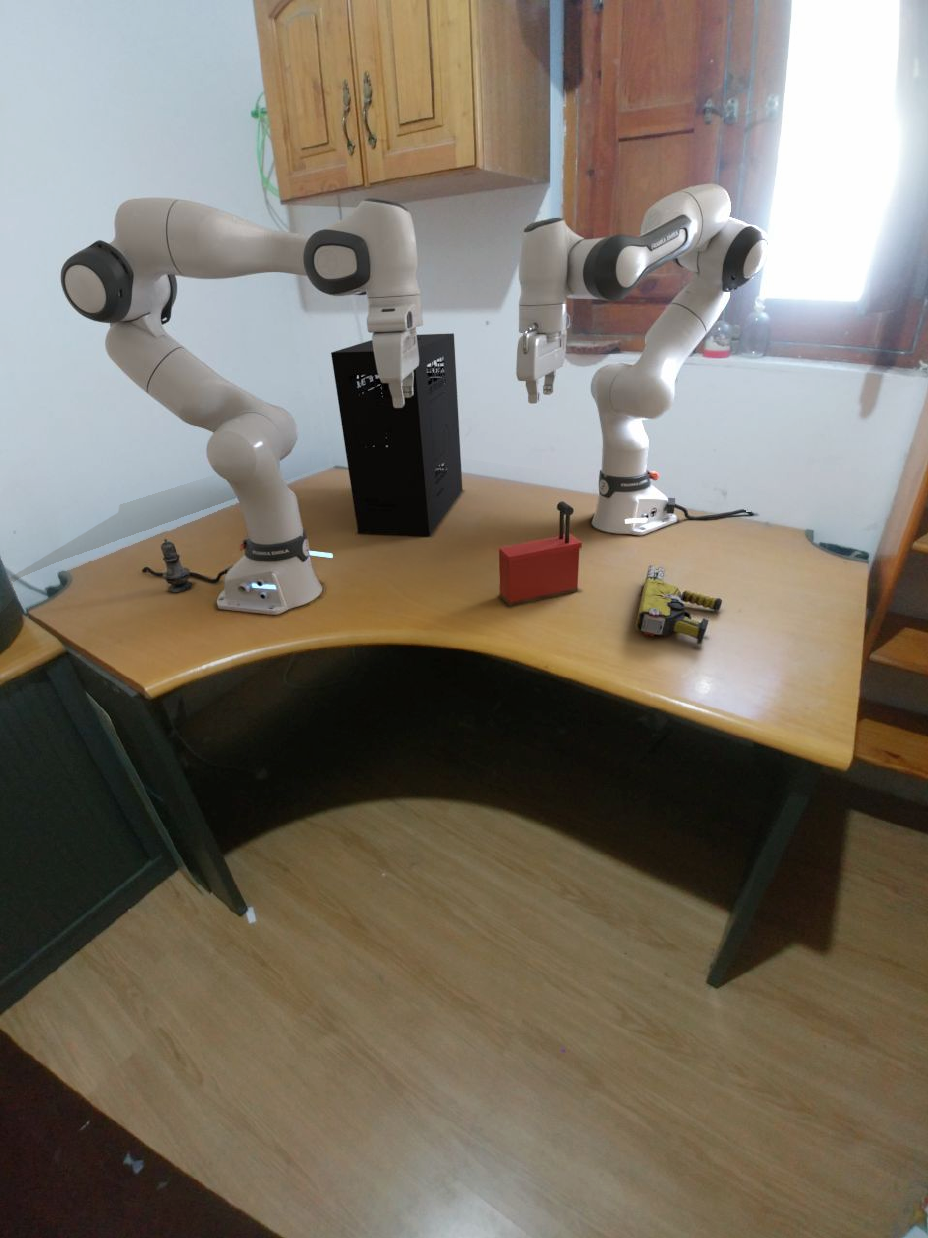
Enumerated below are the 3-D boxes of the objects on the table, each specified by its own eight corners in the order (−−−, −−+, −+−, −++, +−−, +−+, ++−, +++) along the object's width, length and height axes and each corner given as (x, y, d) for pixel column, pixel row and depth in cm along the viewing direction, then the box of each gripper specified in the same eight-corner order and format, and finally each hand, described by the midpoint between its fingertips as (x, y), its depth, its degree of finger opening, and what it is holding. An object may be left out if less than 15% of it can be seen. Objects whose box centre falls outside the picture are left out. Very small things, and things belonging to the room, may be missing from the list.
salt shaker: (184, 593, 136) (168, 544, 130) (161, 592, 138) (145, 543, 132) (199, 581, 141) (184, 533, 135) (177, 580, 143) (161, 533, 137)
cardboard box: (429, 535, 159) (413, 350, 136) (357, 532, 163) (331, 352, 141) (462, 490, 190) (453, 333, 168) (401, 488, 195) (385, 335, 172)
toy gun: (723, 575, 124) (648, 562, 128) (727, 629, 104) (638, 612, 108) (717, 595, 126) (644, 582, 130) (720, 652, 106) (633, 634, 110)
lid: (569, 539, 127) (571, 498, 123) (581, 547, 123) (583, 505, 119) (498, 553, 123) (497, 511, 118) (508, 562, 119) (508, 519, 114)
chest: (566, 581, 132) (567, 539, 127) (577, 591, 128) (579, 548, 123) (499, 596, 128) (498, 553, 123) (509, 606, 124) (508, 562, 119)
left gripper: (389, 312, 110) (397, 391, 117) (363, 321, 93) (374, 414, 100) (423, 310, 110) (429, 390, 117) (403, 319, 92) (412, 412, 99)
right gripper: (541, 326, 104) (540, 409, 111) (572, 316, 120) (569, 389, 127) (507, 326, 107) (508, 408, 113) (542, 317, 123) (541, 389, 130)
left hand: (404, 401), depth 108 cm, fingers open, 8 cm apart
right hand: (541, 398), depth 120 cm, fingers open, 8 cm apart
